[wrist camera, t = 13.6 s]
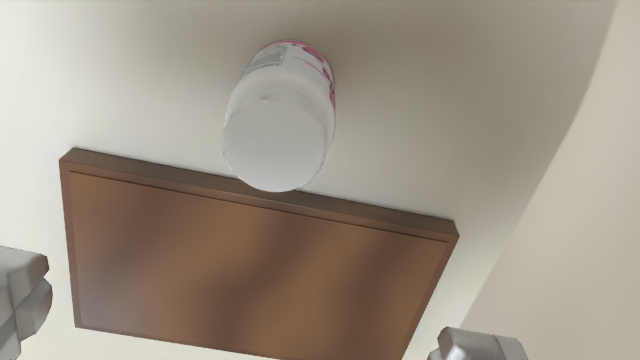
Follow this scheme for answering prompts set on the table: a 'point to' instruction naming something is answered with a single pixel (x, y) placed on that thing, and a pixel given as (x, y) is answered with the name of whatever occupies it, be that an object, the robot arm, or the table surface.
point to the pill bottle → (280, 117)
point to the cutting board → (244, 263)
